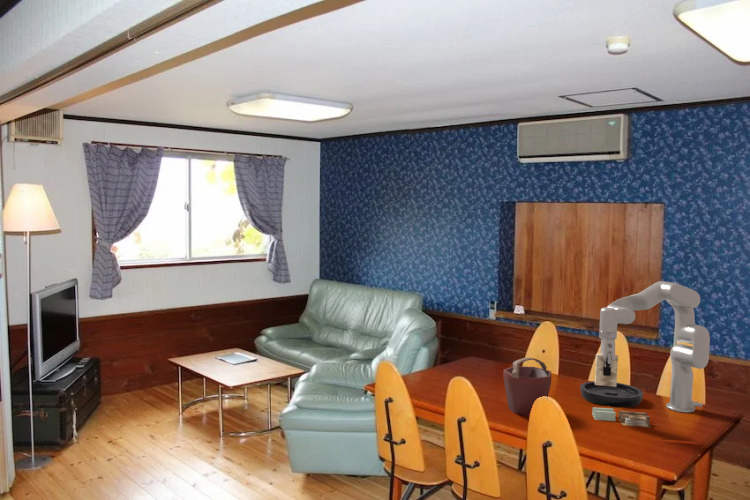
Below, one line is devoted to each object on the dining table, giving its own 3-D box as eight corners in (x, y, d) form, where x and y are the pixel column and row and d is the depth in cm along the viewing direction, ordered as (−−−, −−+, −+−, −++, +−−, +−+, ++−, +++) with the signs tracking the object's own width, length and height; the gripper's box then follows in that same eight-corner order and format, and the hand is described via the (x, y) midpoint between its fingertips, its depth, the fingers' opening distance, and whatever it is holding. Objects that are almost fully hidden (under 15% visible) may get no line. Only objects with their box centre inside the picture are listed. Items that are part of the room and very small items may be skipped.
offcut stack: (645, 424, 280) (646, 416, 280) (647, 426, 277) (648, 419, 277) (624, 422, 281) (625, 415, 281) (626, 425, 278) (626, 417, 278)
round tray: (583, 406, 308) (648, 411, 302) (584, 394, 308) (649, 399, 302) (576, 389, 338) (635, 393, 332) (577, 378, 337) (636, 382, 331)
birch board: (615, 385, 288) (616, 355, 287) (616, 386, 285) (618, 356, 284) (594, 383, 289) (596, 353, 288) (595, 385, 287) (597, 354, 286)
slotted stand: (612, 417, 291) (612, 408, 291) (615, 423, 284) (616, 413, 283) (591, 416, 293) (592, 406, 293) (594, 421, 285) (595, 412, 285)
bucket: (518, 420, 285) (520, 365, 283) (491, 405, 305) (492, 355, 304) (561, 414, 295) (563, 361, 293) (532, 400, 315) (534, 351, 313)
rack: (645, 422, 286) (646, 412, 286) (651, 429, 276) (651, 419, 276) (618, 420, 288) (618, 410, 288) (622, 427, 278) (623, 417, 278)
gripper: (620, 338, 277) (618, 379, 278) (613, 331, 293) (611, 370, 294) (602, 337, 278) (600, 378, 280) (596, 331, 294) (594, 369, 295)
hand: (606, 374), depth 287 cm, fingers closed on birch board, 2 cm apart
